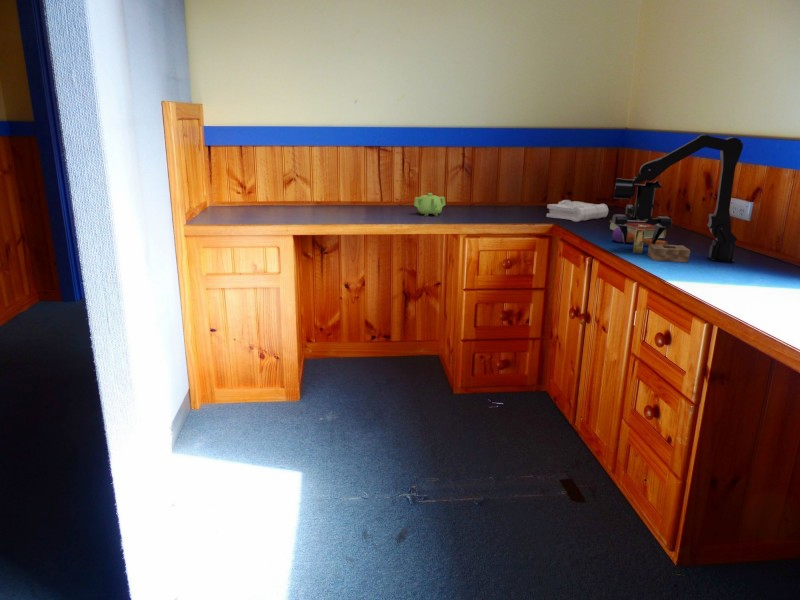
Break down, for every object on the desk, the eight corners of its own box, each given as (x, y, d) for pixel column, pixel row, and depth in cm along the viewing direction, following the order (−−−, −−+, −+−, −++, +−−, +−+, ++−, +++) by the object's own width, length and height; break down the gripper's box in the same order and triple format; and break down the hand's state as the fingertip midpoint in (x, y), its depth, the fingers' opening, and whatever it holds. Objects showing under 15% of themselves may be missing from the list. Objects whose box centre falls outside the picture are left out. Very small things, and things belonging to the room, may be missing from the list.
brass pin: (640, 251, 217) (644, 229, 215) (642, 253, 214) (646, 230, 212) (632, 251, 218) (635, 228, 215) (633, 253, 215) (637, 230, 212)
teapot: (445, 214, 286) (446, 192, 283) (436, 217, 276) (437, 195, 273) (422, 212, 291) (423, 191, 288) (412, 215, 281) (413, 193, 278)
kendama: (662, 240, 218) (610, 227, 231) (659, 255, 221) (608, 242, 234) (669, 235, 222) (618, 223, 235) (667, 250, 225) (616, 237, 238)
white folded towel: (613, 217, 291) (615, 201, 289) (579, 223, 274) (581, 205, 272) (578, 212, 305) (580, 197, 303) (544, 217, 288) (545, 201, 286)
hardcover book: (633, 229, 263) (634, 219, 262) (665, 239, 244) (666, 228, 242) (608, 229, 260) (609, 220, 259) (638, 239, 241) (640, 229, 240)
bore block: (681, 257, 210) (683, 245, 209) (688, 262, 203) (690, 250, 202) (647, 255, 212) (649, 243, 211) (653, 260, 204) (655, 248, 203)
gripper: (667, 198, 217) (660, 242, 222) (612, 196, 219) (606, 239, 224) (675, 202, 207) (668, 248, 211) (618, 200, 209) (612, 245, 213)
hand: (638, 245), depth 215 cm, fingers open, 9 cm apart
